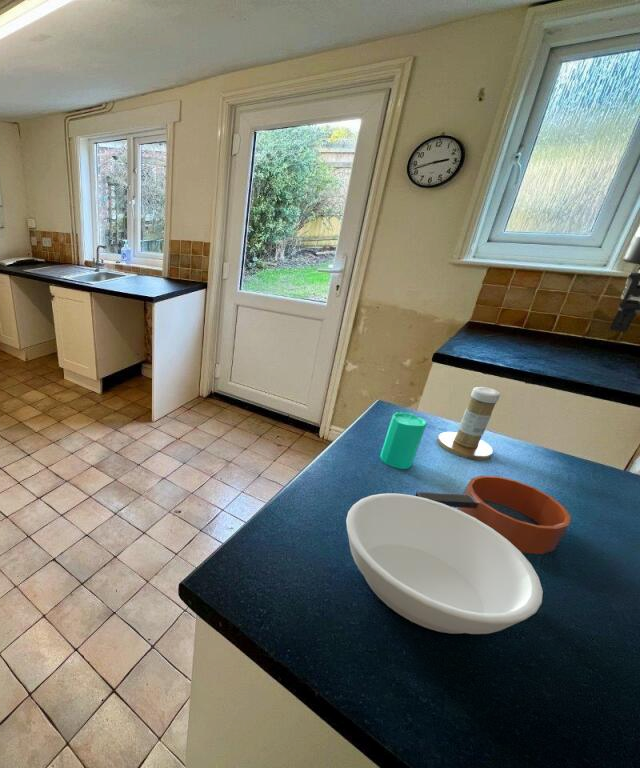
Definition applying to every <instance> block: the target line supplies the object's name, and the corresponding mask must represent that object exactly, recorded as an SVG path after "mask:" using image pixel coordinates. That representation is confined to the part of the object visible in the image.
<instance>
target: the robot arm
mask: <svg viewBox="0 0 640 768" xmlns="http://www.w3.org/2000/svg"><path fill="white" fill-rule="evenodd" d="M622 261H623V262H625V263H628V264H632V265H639V267H638V269H637V272H630V274H629V275H628V277H627V279H626V281H625V287H624V289H623V291H622V293H621V295H620V299H621V300H622V301H621V302H619V304H618V306H617V308H618V309H617V310H618V311H617V312H616V314H615V316H614V318H613V320H612V322H611V323H610V326H609V330H610V331H614V332H618V333H619V332H620V333H625V332H627V331H628V330H629V328H630V327H631V325H632V323H633V321H634V320H635V317H636V316H637V314H638V313H639V312H640V223H639V224H638V227H637V229H636V231H635V233H634V235H633V236H632V239H631V240H630V243H629V244H628V247H627V249H626V251H625V253H624V255H623V257H622Z"/></svg>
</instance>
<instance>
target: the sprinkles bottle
mask: <svg viewBox="0 0 640 768" xmlns="http://www.w3.org/2000/svg"><path fill="white" fill-rule="evenodd" d="M500 396H501V393H500V392H499V391H497V390H496V389H494V388H490V387H485V386H476V387H474V388H473V389H472V391H471V393H470V399H469V401H468V404H467V407H466V408H465V411H464V413H463V415H462V418H461V421H460V423H459V426H458V429H457V431H456V432H457V434H456V437H455V438H454V440H455V442H456V443H458V444H459V445H462V446H464V447H468V448H476V447H478V446H479V441H480V440H482V437H483V435H484V433H485V431H486V429H487V426H488V424H489V422H490V419H491V417H492V413H493V410H494V408H495V406H496V404H497V403H498V402H499V399H500Z"/></svg>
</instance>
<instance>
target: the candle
mask: <svg viewBox="0 0 640 768" xmlns="http://www.w3.org/2000/svg"><path fill="white" fill-rule="evenodd" d="M426 427H427V421H426V419H423V418H421V417H419V416H417V415H415V414H413V412H398V411H396V412H395V413H393V414H392V416H391V420H390V422H389V425H388V429H387V431H386V436H385V438H384V441H383V445H382V448H381V452H380V454H379V457H380V460H381V461H382V462H383V464H385V465H388V466H390V467H392V468H394V469H395V468H396V469H400V470H404V469H410V468H411V467H412V466H413V463H414V461H415V458H416V455H417V452H418V449H419V446H420V444H421V441H422V438H423V435H424V432H425V430H426Z"/></svg>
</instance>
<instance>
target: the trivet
mask: <svg viewBox="0 0 640 768" xmlns="http://www.w3.org/2000/svg"><path fill="white" fill-rule="evenodd" d="M457 432H458V431H444V432H441V433H439V435H438V437H437V443H438V445H439V446H440V447H441V448H442V449H444V450H445V451H447V452H449V453H451V454H453V455H456V456H458V457H462V458H464V459H465V458H466V459H470V460H476V461H477V460H478V461H481V460H482V461H484V460H488V459H490V458H492V455H493V453H494V449H493V447H492V446H491V445H490V444H489V443H487V442H485V441H484V440H482V439H480V441H479V446H478V447H476V448H468V447H464V446H462V445H459V444H458V443H456V442H455V440H454V438H455V437H456V434H457Z"/></svg>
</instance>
